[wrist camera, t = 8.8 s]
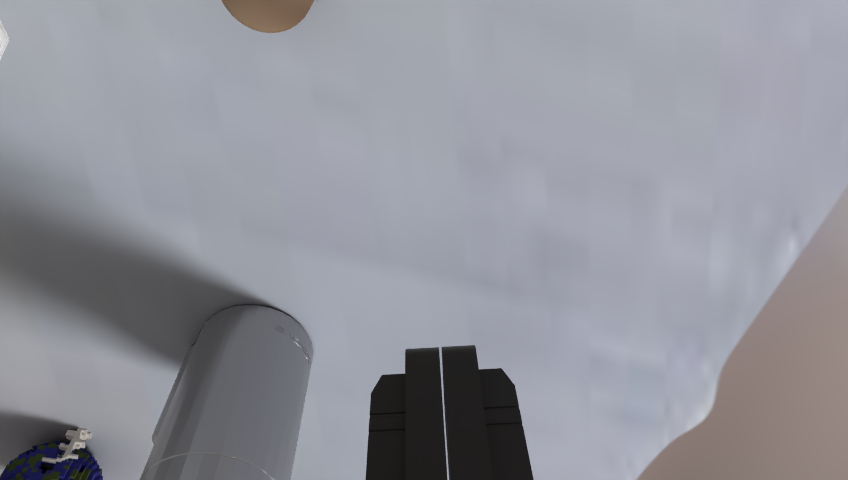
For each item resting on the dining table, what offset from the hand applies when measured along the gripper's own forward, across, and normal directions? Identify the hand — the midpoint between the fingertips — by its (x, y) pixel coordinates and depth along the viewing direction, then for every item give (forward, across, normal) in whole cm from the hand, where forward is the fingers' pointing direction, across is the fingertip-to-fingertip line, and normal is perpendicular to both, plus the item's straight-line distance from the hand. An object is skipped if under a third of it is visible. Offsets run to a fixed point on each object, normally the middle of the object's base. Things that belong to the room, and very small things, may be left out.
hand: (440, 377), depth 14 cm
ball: (+31, +34, +37) cm, 59 cm away
